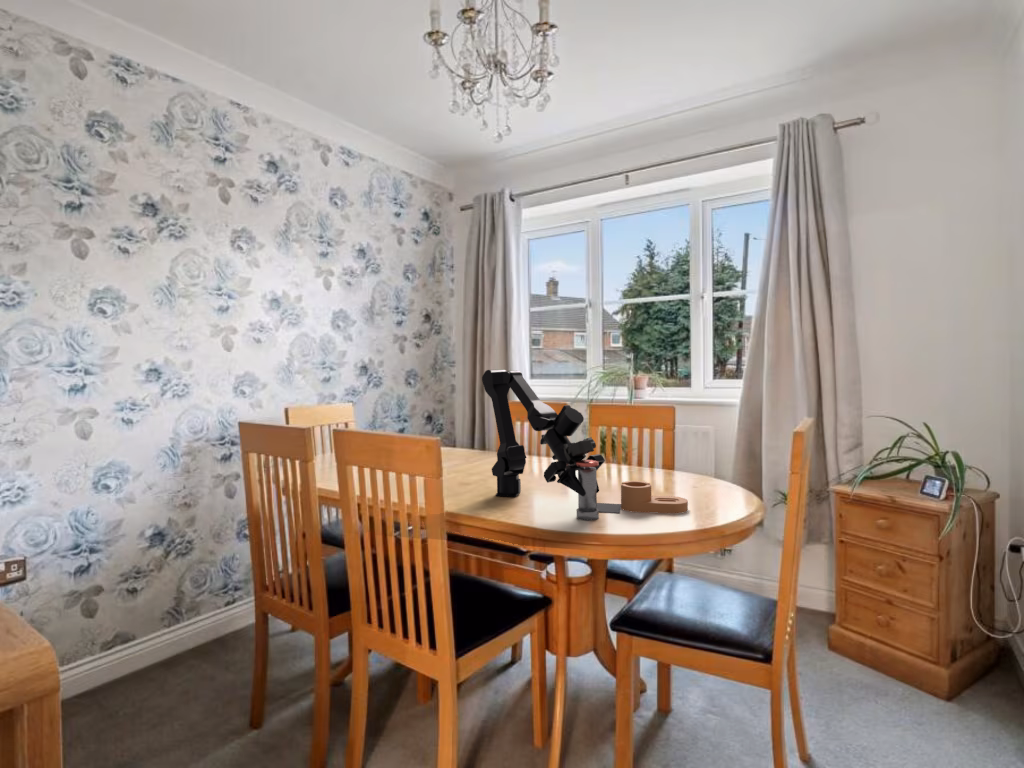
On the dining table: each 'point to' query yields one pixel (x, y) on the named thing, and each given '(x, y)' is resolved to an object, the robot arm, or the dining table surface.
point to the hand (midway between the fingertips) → (591, 493)
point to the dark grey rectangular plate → (608, 507)
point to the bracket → (649, 499)
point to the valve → (587, 490)
